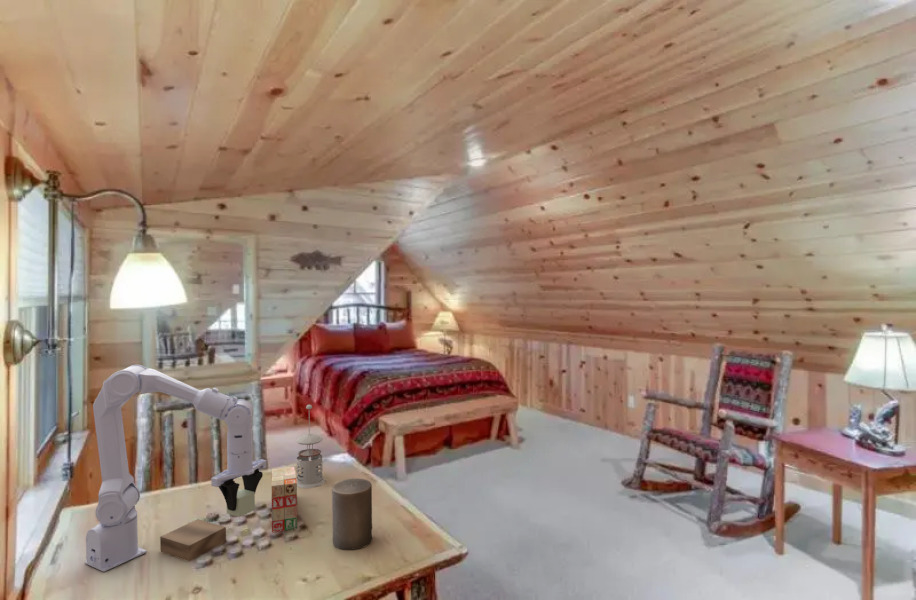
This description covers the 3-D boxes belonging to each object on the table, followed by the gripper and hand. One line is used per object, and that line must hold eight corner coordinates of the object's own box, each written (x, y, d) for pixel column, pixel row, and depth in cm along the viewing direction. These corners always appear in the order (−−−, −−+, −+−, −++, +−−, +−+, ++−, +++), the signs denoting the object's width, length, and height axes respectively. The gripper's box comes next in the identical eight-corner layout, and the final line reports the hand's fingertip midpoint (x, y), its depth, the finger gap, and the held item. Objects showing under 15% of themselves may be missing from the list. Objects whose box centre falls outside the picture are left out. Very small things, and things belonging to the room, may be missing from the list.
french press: (293, 489, 157) (292, 409, 157) (294, 476, 169) (293, 401, 168) (325, 486, 160) (325, 407, 159) (325, 473, 171) (324, 399, 170)
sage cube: (239, 517, 122) (239, 498, 122) (226, 513, 124) (226, 495, 124) (254, 509, 126) (254, 491, 126) (242, 506, 128) (242, 488, 128)
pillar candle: (380, 537, 127) (380, 478, 127) (351, 554, 119) (351, 491, 119) (352, 527, 133) (352, 470, 132) (323, 543, 125) (323, 482, 124)
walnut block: (189, 563, 116) (189, 545, 116) (160, 553, 121) (160, 536, 120) (226, 542, 125) (225, 526, 125) (197, 534, 130) (197, 519, 129)
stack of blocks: (271, 500, 150) (271, 458, 150) (294, 497, 152) (293, 456, 152) (271, 533, 130) (271, 485, 130) (297, 529, 132) (297, 482, 132)
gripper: (225, 462, 117) (226, 521, 117) (274, 444, 129) (275, 497, 130) (205, 457, 120) (205, 514, 120) (255, 441, 133) (255, 492, 133)
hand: (240, 505), depth 125 cm, fingers closed on sage cube, 4 cm apart
